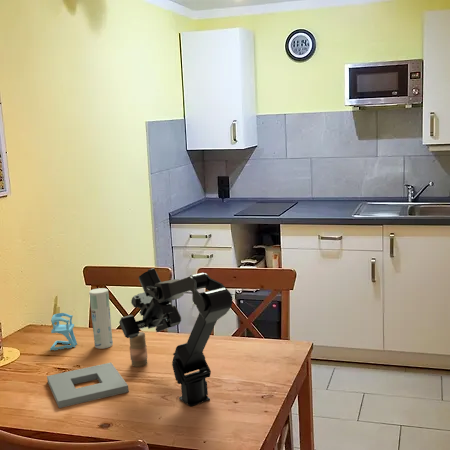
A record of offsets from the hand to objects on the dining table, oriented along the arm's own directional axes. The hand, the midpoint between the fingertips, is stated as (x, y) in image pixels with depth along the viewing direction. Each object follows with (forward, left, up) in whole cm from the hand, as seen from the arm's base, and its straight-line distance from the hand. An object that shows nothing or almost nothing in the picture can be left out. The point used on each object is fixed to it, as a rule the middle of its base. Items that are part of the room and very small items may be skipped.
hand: (143, 334), depth 198 cm
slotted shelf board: (-20, -1, -11) cm, 23 cm away
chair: (-13, +38, -12) cm, 42 cm away
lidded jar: (0, +5, -11) cm, 12 cm away
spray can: (-2, +29, -12) cm, 31 cm away
